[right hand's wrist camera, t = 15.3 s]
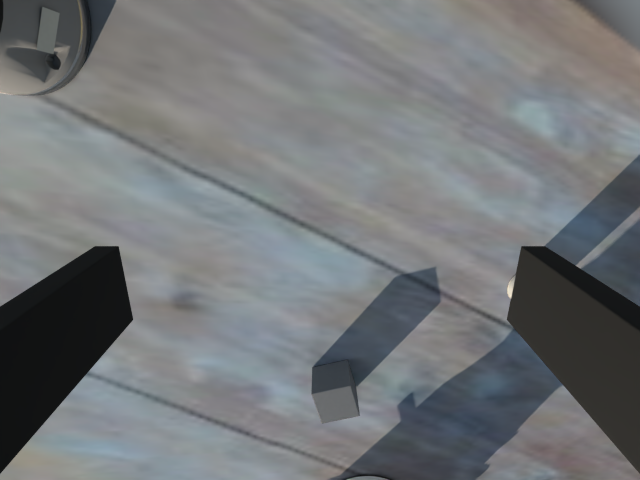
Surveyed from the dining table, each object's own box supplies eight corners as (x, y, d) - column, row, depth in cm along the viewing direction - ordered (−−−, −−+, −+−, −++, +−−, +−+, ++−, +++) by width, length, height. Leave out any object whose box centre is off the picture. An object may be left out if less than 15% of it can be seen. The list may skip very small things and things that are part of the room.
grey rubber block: (312, 367, 51) (311, 393, 46) (347, 359, 51) (350, 385, 46) (321, 395, 53) (321, 423, 48) (356, 387, 52) (359, 416, 47)
